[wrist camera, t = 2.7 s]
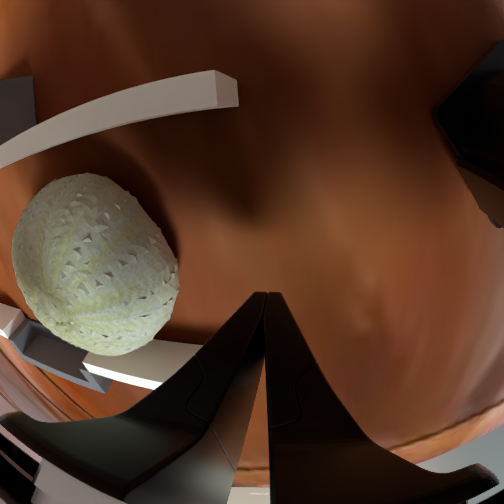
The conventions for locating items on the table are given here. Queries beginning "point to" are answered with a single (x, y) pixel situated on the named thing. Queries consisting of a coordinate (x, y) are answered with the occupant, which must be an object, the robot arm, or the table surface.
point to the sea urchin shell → (94, 265)
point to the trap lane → (69, 128)
